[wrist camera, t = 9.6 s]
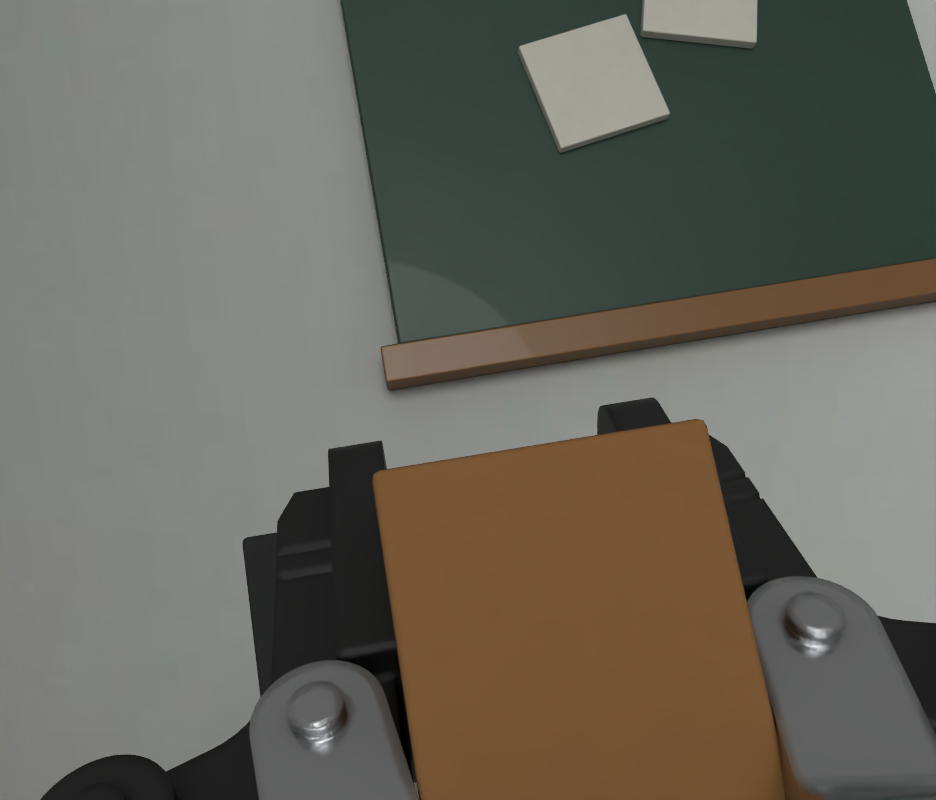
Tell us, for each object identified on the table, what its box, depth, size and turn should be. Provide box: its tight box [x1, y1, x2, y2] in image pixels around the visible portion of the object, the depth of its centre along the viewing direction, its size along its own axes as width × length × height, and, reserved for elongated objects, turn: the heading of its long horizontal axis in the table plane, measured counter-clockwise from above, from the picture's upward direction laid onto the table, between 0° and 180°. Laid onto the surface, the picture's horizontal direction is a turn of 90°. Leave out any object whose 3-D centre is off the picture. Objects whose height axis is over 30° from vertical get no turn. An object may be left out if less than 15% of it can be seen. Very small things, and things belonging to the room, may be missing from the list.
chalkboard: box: [341, 0, 936, 390], centre depth 30 cm, size 21×17×1 cm
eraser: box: [243, 419, 785, 800], centre depth 12 cm, size 8×4×10 cm, turn 100°
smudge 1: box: [518, 14, 670, 153], centre depth 30 cm, size 4×4×1 cm
